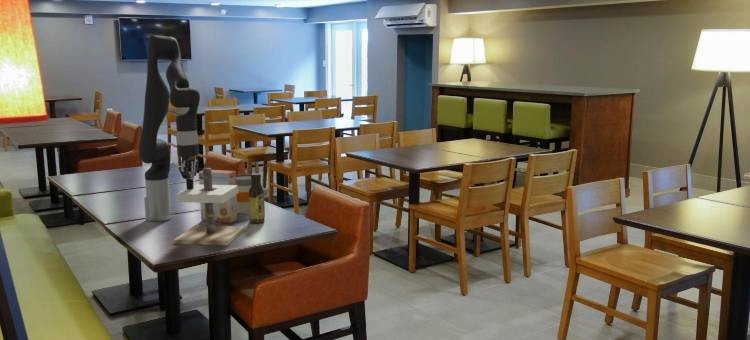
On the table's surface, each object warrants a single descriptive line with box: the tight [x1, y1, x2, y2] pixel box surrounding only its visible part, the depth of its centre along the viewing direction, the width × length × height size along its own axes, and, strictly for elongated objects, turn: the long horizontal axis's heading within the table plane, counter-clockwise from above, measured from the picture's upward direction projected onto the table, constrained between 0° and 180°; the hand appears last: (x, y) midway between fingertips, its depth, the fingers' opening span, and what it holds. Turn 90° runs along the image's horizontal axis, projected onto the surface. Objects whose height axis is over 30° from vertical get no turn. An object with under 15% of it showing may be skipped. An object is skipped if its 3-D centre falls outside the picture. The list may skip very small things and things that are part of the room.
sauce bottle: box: [248, 172, 266, 224], centre depth 255 cm, size 7×6×20 cm
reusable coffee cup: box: [236, 173, 252, 214], centre depth 274 cm, size 13×13×15 cm
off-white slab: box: [176, 183, 238, 204], centre depth 232 cm, size 17×17×3 cm
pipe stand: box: [173, 167, 246, 246], centre depth 233 cm, size 20×20×26 cm
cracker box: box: [198, 169, 239, 224], centre depth 257 cm, size 14×6×21 cm, turn 71°
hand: (190, 189), depth 233 cm, fingers closed
